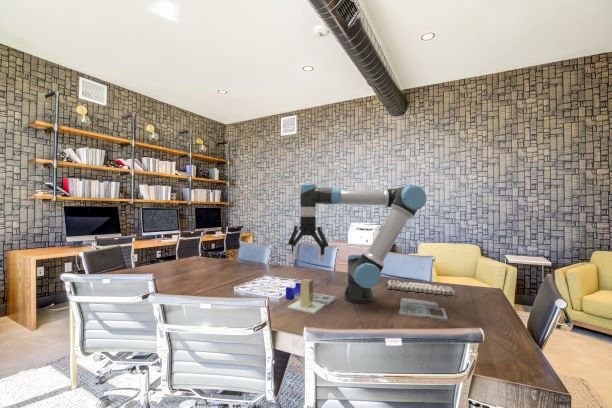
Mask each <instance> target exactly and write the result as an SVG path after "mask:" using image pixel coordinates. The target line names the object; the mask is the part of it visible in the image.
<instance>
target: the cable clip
mask: <svg viewBox="0 0 612 408" xmlns="http://www.w3.org/2000/svg"><path fill="white" fill-rule="evenodd" d="M300 290H301V282H297V281H296V282H295V286H294V287H290V286H287V287H285V299H286V300H290V301H291V300H294V299H293V295H295V294H297V293H299V292H300Z"/></svg>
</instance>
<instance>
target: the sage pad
mask: <svg viewBox="0 0 612 408" xmlns="http://www.w3.org/2000/svg"><path fill="white" fill-rule="evenodd" d="M325 306H326V305H325V304H321V303H315V302H313V305H312V306H311V307H309V308H307V307H302V306H300V300H298V299H297V300H296V301H295V302H293V303H291V304H289V305H288V306H287V307H286V308H287V309H288V310H293V311H298V312H304V313H307V314H312V315H315V314H316V313H318V312H319V311H321V310H322V309H323V308H324V307H325Z"/></svg>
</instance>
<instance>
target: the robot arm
mask: <svg viewBox="0 0 612 408" xmlns="http://www.w3.org/2000/svg"><path fill="white" fill-rule="evenodd" d="M299 195H300V197H299V198H300V200H299V203H300V205H299V206H300V208H299V210H300V212H299V215H300V218H299V224H300V225H294V227H293V232H292V234H291V237H290V238H289V241H288V245H290V246H291V253H292V254H293V255H292V256H293V257H292V259H293V261H295V260H298V245H297V244H298V243H299V241H300V240H301V239H302V238H303V236H310V237H312V238H313V239H314V241H315V242H316V243H317V245H318V246H319V248H318V263H322V262H323V260H324V259H323V258H324V257H323V256H324V255H325V248H327V247H329V243H328V241H327V239H326V237H325V234H324V232H323V227H322V226H317V225H316V223H317V222H316V221H317V217H316V215H317V213H316V212H317V205H321V204H322V205H346V206H347V205H349V206H350V205H352V206H353V205H355V206H356V205H358V206H383V207H385V208H391V211H390V213H388V216H387V218H386V220H385V221H384V223H383V225H382V226H381V228H380V229H379V231H378V233H377V234H376V236H375V238H374V240H373V241H372V243H371V244H370V246H369V248H368V250H367V251H366V252H362V254H349V255H348V256H347V284H346V287H345V289H344V291H343V298H344V300H346V301H348V302H349V303H355V304H369V303H371V302H374V293H373V290H372V288H375V286H377V285H378V284H379V283H380V281H381V274H382V273H381V272H382V271H383V269H384V267H385V265H384V261H385V259H386V257H387V256H388V254H389V252H390V250H392V247H393V245H394V243H395V242H396V241H397V239H398V237H399V235H400V233H401V232H402V231H403V229H404V227H405V225H406V224H407V222H408V221H409V219H411V218H412V219H413V218H414V216H415V215H416V213H417V212H418V210H420V209H422V208H423V207H424V206H425V205H426V203H427V194H426V191H425V190H424V189H423V188H422V187H421V186H419V185H416V184H415V185H414V184H409V185H408V184H407V185H405V186H399V187H397V188H396V187H395V188H385V189H384V190H351V189H350V190H346V189H345V190H343V189H340V188H336V187H331V188H330V187H329V188H328V187H327V188H326V187H324V188H321V187H317V185H316V184H315V183H303V184H301V185H300V193H299ZM299 231H300V232H299ZM316 231H317V232H316ZM298 232H299V234H298ZM318 235H319V236H318Z"/></svg>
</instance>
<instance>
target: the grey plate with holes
mask: <svg viewBox="0 0 612 408" xmlns="http://www.w3.org/2000/svg"><path fill="white" fill-rule="evenodd" d="M292 300H297V301H298V300H300V292H299V293H297V294H295V295H293V299H292ZM336 300H337V296H335V295H329V294H323V293H317V292H313V302H315V303H321V304H325V306H330V305H331V304H332V303H333V302H335V301H336Z"/></svg>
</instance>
